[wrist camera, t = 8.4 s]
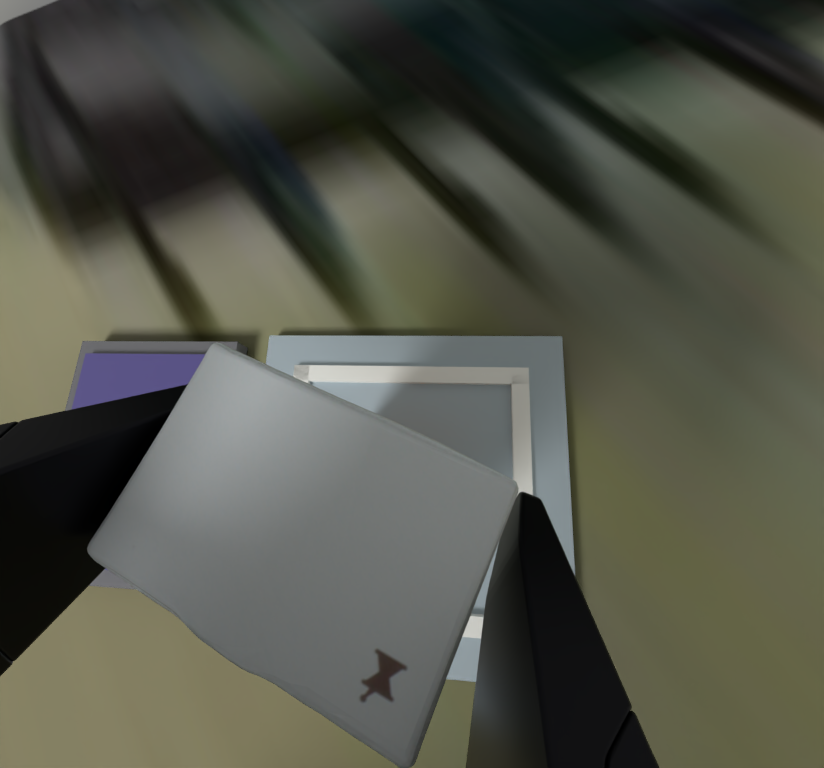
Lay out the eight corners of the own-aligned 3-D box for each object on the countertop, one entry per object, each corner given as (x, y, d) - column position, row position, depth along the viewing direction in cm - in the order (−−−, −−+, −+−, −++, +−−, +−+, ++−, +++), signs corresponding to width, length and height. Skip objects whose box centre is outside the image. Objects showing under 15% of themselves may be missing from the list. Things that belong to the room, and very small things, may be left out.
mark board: (576, 683, 15) (584, 697, 14) (234, 650, 17) (222, 660, 16) (558, 340, 19) (563, 333, 18) (274, 339, 20) (267, 333, 19)
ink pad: (212, 587, 18) (194, 596, 16) (44, 574, 19) (14, 581, 17) (247, 347, 20) (234, 339, 19) (99, 346, 21) (77, 339, 20)
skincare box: (478, 476, 17) (538, 486, 5) (439, 566, 16) (412, 800, 5) (362, 420, 18) (207, 330, 7) (321, 502, 17) (65, 564, 6)
